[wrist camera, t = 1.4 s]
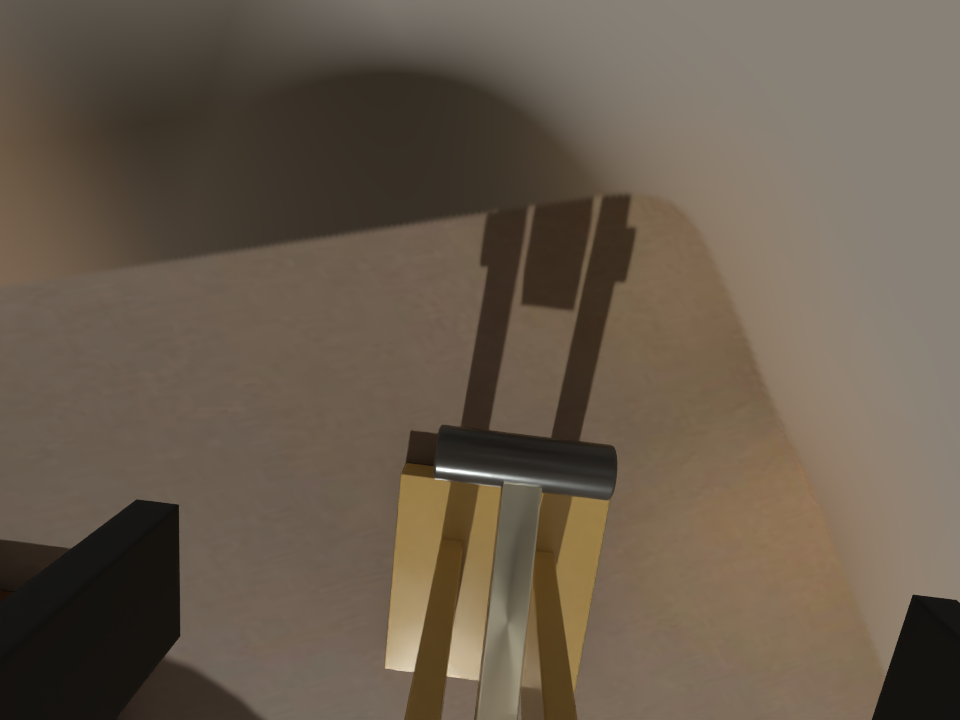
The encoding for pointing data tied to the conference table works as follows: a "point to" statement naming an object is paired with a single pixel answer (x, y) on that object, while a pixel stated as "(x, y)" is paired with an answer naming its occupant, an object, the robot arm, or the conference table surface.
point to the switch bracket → (487, 591)
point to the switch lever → (517, 533)
